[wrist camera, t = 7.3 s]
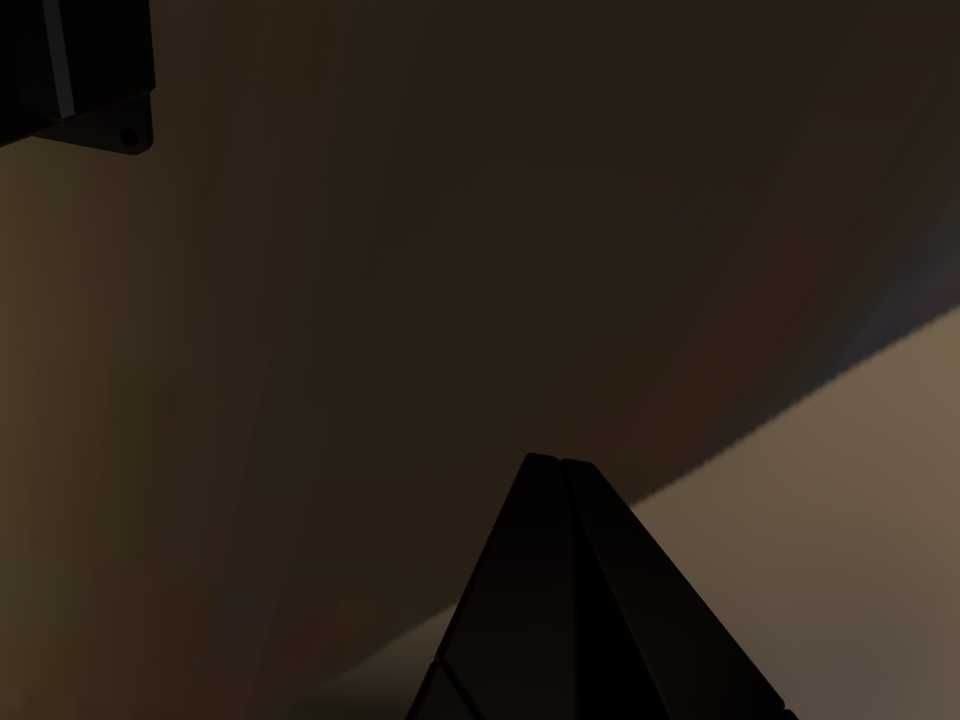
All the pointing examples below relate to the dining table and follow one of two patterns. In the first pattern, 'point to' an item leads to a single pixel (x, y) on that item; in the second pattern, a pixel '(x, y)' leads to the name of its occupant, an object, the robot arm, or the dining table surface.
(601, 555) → the robot arm
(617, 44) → the dining table surface
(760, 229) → the dining table surface
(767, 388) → the dining table surface
